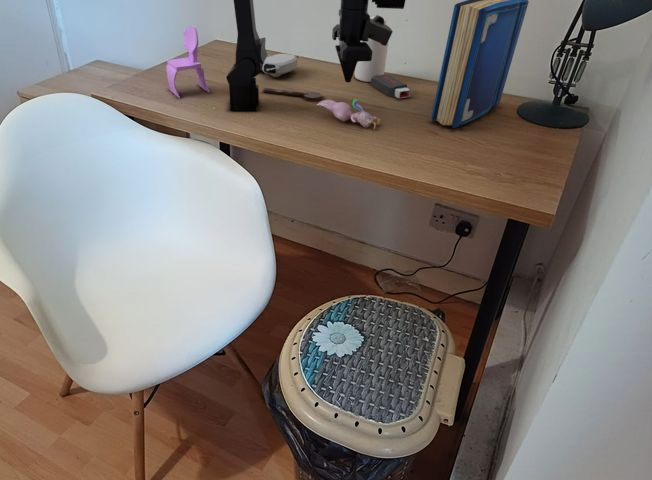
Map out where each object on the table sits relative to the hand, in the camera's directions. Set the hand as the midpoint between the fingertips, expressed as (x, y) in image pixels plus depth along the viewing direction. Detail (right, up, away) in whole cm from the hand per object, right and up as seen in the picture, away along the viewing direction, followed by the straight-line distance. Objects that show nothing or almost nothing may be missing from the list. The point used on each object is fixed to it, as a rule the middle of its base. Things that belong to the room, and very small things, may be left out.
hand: (347, 81), depth 121 cm
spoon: (-13, +1, +12) cm, 18 cm away
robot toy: (-19, +12, +26) cm, 34 cm away
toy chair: (-39, +2, +14) cm, 41 cm away
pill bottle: (+9, +10, +24) cm, 27 cm away
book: (+29, -6, +4) cm, 30 cm away
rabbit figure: (0, -9, 0) cm, 9 cm away
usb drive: (+13, +3, +16) cm, 21 cm away
